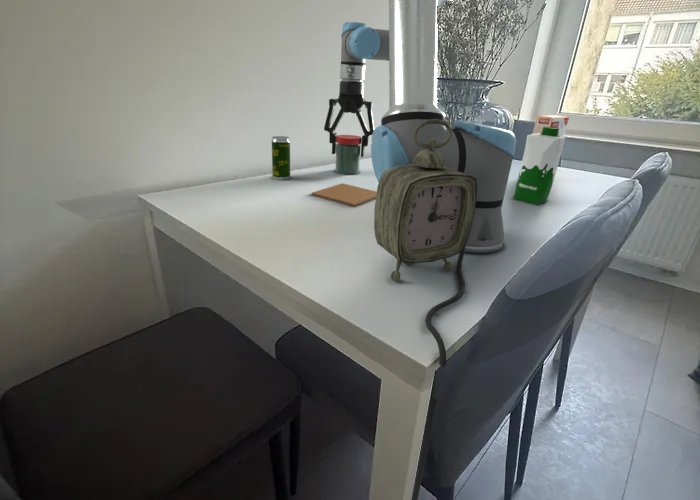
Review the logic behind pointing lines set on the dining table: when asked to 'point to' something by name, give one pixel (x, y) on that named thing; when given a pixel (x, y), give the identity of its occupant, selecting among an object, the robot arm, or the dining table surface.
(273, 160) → the beer can
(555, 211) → the dining table surface
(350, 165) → the jar
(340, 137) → the lid
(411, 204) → the tabletop clock
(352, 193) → the mat
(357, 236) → the dining table surface
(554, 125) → the cracker box
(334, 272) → the dining table surface
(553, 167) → the milk carton
